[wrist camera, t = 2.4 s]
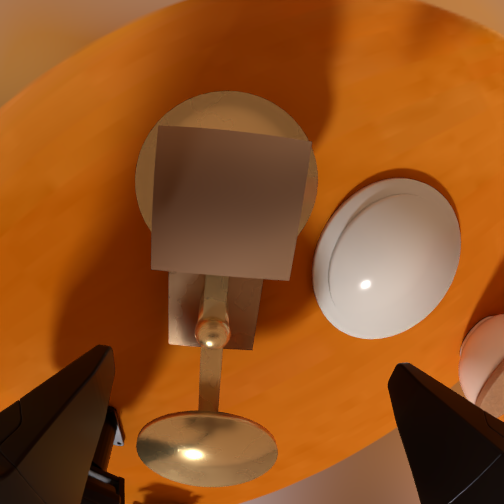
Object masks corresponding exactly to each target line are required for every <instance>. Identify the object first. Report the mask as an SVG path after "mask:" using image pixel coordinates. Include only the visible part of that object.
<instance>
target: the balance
mask: <svg viewBox="0 0 504 504" xmlns="http://www.w3.org/2000/svg"><path fill="white" fill-rule="evenodd" d="M158 125H161V126H180V127H196V128H208V129H220V130H230V131H239V132H248V133H257V134H264V135H272V136H279V137H286V138H292V139H299V140H305V141H308V138H307V137H306V135H305V133H304V132H303V130H302V129H301V127H300V126H299V125H298V124H297V123H296V121H295V120H294V119H293V118H292V117H291V116H290V115H289V114H288V113H286V112H285V111H284V110H283V109H281V108H280V107H278V106H277V105H275V104H274V103H272V102H270V101H268V100H266V99H264V98H262V97H259V96H256V95H253V94H249V93H244V92H238V91H218V92H210V93H206V94H202V95H198V96H196V97H193V98H191V99H188V100H186V101H184V102H182V103H181V104H179V105H177V106H176V107H174V108H173V109H172V110H170V111H169V112H168V113H166V114H165V115H164V116H163V117H162V118H161V119H160V120H159V121H158V122H157V124H156V125H155V126H154V127H153V129H152V130H151V131H150V133H149V135H148V136H147V138H146V140H145V142H144V144H143V146H142V149H141V151H140V154H139V157H138V161H137V165H136V173H135V190H136V196H137V202H138V205H139V208H140V212H141V214H142V216H143V218H144V221H145V223H146V224H147V226H148V228H149V229H150V231H151V232H152V204H153V185H154V169H155V156H156V144H157V133H158ZM317 185H318V173H317V165H316V159H315V156H314V153H313V150H312V147H311V154H310V160H309V167H308V174H307V180H306V186H305V193H304V199H303V205H302V211H301V217H300V223H299V229H298V235H299V233H300V232H301V230H302V229H303V228H304V226H305V224H306V222H307V221H308V219H309V217H310V214H311V212H312V209H313V206H314V203H315V199H316V195H317ZM298 235H297V236H298ZM262 285H263V279H257V278H243V277H231V276H218V275H206V274H195V273H183V272H172V271H169V296H168V319H169V344H174V345H184V346H196V347H201V359H200V382H199V410H198V411H184V412H176V413H171V414H167V415H164V416H161V417H158V418H156V419H154V420H152V421H150V422H149V423H147V424H146V425H145V426H144V427H143V428H142V429H141V431H140V433H139V435H138V439H137V445H136V448H137V453H138V455H139V457H140V459H141V460H142V461H143V462H144V464H145V465H146V466H148V467H149V468H150V469H151V470H153V471H154V472H156V473H157V474H159V475H161V476H163V477H165V478H168V479H170V480H173V481H176V482H179V483H183V484H188V485H193V486H202V487H223V486H231V485H237V484H241V483H245V482H248V481H250V480H253V479H255V478H257V477H259V476H261V475H263V474H264V473H265V472H267V471H268V470H269V469H270V468H271V467H272V466H273V465H274V463H275V461H276V459H277V455H278V451H277V445H276V441H275V439H274V437H273V435H272V434H271V433H270V432H269V431H268V430H267V429H266V428H264V427H263V426H261V425H260V424H258V423H256V422H254V421H252V420H250V419H247V418H244V417H241V416H237V415H233V414H229V413H223V412H218V406H219V392H220V378H221V364H222V351H223V349H240V350H252V348H253V342H254V336H255V330H256V323H257V317H258V311H259V304H260V298H261V291H262Z"/></svg>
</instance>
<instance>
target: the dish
mask: <svg viewBox="0 0 504 504" xmlns="http://www.w3.org/2000/svg"><path fill="white" fill-rule="evenodd" d="M460 248H461V238H460V229H459V224H458V221H457V218H456V215H455V213H454V211H453V209H452V207H451V205H450V204H449V202H448V201H447V200H446V198H445V197H444V196H443V195H442V194H441V193H440V192H438V191H437V190H436V189H435V188H433V187H431V186H429V185H427V184H425V183H422V182H419V181H416V180H413V179H408V178H390V179H384V180H380V181H377V182H374V183H372V184H370V185H368V186H366V187H364V188H362V189H360V190H359V191H357V192H356V193H354V194H353V195H351V196H350V197H349V198H348V199H347V200H346V201H345V202H343V203H342V204H341V206H340V207H339V208H338V209H337V210H336V211H335V212H334V214H333V215H332V216H331V218H330V219H329V221H328V222H327V224H326V226H325V227H324V229H323V231H322V233H321V235H320V238H319V240H318V243H317V245H316V249H315V253H314V257H313V264H312V283H313V290H314V293H315V297H316V300H317V302H318V304H319V306H320V308H321V310H322V312H323V313H324V315H325V316H326V318H327V319H328V320H329V321H330V322H331V323H332V324H333V325H334V326H335V327H336V328H338V329H339V330H340V331H342V332H344V333H346V334H348V335H351V336H354V337H358V338H363V339H378V338H385V337H390V336H393V335H396V334H399V333H401V332H403V331H405V330H408V329H409V328H411V327H413V326H414V325H416V324H417V323H419V322H420V321H421V320H423V319H424V318H425V317H426V316H427V315H428V314H430V313H431V312H432V310H433V309H434V308H435V307H436V306H437V305H438V304H439V302H440V301H441V300H442V298H443V297H444V295H445V294H446V292H447V291H448V289H449V287H450V285H451V283H452V281H453V278H454V276H455V273H456V270H457V266H458V263H459V257H460Z"/></svg>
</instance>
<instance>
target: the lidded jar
mask: <svg viewBox="0 0 504 504" xmlns="http://www.w3.org/2000/svg"><path fill="white" fill-rule="evenodd" d="M459 379H460V384H461V387H462V389H463V392H464V394H465V396H466V398H467V400H468V401H470V402H472V403H473V404H475V405H476V406H478V407H480V408H481V409H483V411H486V412H488V413H489V414H491V415H492V416H494V417H496V418H498V417H499V416H501V415H503V414H504V314H500V315H496V316H488V317H486V318H484V319H482V320H481V321H479V322H478V323H477V324H476V325H475V326H474V327H473V328H472V329H471V330H470V332H469V333H468V334H467V336H466V337H465V339H464V341H463V343H462V346H461V349H460V360H459Z"/></svg>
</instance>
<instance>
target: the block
mask: <svg viewBox="0 0 504 504" xmlns="http://www.w3.org/2000/svg"><path fill="white" fill-rule="evenodd" d="M311 147H312V142H311V141H305V140H299V139H292V138H286V137H279V136H272V135H264V134H257V133H248V132H239V131H230V130H220V129H208V128H196V127H180V126H161V125H158V133H157V144H156V156H155V169H154V185H153V204H152V233H151V270H161V271H172V272H183V273H195V274H206V275H218V276H231V277H243V278H257V279H270V280H284V281H289V279H290V274H291V268H292V263H293V257H294V252H295V246H296V240H297V235H298V229H299V223H300V217H301V211H302V205H303V199H304V193H305V186H306V180H307V174H308V167H309V160H310V154H311Z"/></svg>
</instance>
